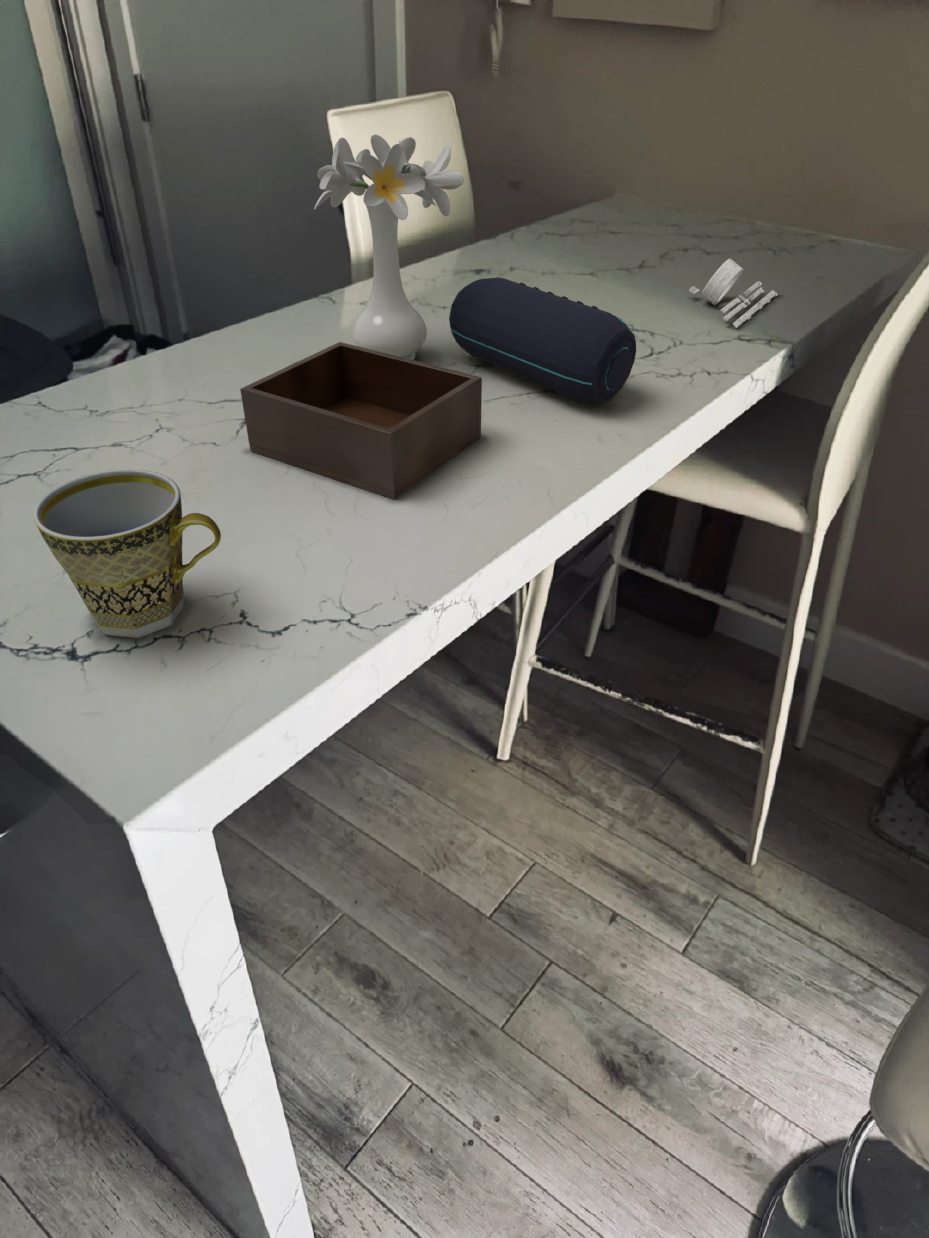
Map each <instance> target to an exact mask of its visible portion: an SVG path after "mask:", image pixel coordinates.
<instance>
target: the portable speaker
mask: <svg viewBox="0 0 929 1238" xmlns="http://www.w3.org/2000/svg"><path fill="white" fill-rule="evenodd" d="M448 321H449V329H450V332H451V335H452V337H453V338H454V340H455V342H456V344H457V345H458V346H459V347H460V348H461V349H462V351H464V352H466V353H467V354H469V355H470V356H472V357H473V358H475V359H477V360H480V361H481V362H484V363H486V364H489V365H491V366H494V367H495V368H499V369H500V370H503V371H506V372H508V373H510V374H511V375H512V374H513V375H515V376H518V377H520V378H522V379H524V380H526V381H530V382H531V383H534V384H536V385H539V386H541V387H543V388H545V389H547V390H548V389H549V390H550V391H553V392H555V393H557V394H560V395H563V396H565V397H567V398H569V399H572V400H573V401H576V402H581V403H586V404H591V405H599V404H606V403H608V402H610V401H611V400H612V399H613V398H614V397H615V396H617V394H618V393H619V392H620V391H622V389H623V388H624V385H626V382H627V381H628V378H629V377H630V376H631V372H632V369H633V366H634V364H635V361H636V355H637V340H636V336H635V334H634V333H633V331H632V330H631V329H630V327H629V326H628V325H627V324H626V322H625V321H624V320H623V319H622V318H621V317H618V316H616V315H615V314H613V313H611V312H609V311H606V310H603V309H600V308H598V307H597V306H596V305H592V306H591V305H587V304H585V303H584V302H582V301H580V300H577V301H576V300H575V301H574V300H572V299H569V298H568V297H567V296H565V295H562V296H560V295H557V294H555V293H554V292H551V291H544V290H541V288H539V287H537V286H534V287H532V286H529V285H527V284H526V283H524V282H520V283H519V282H516V281H513V280H511V279H507V278H504V277H501V276H500V277H498V276H497V277H487V278H480V279H477V280H476V279H475V280H474V281H472V282H470V283H468V284H467V285H465V286H463V288H462V289H460V290H459V291H458V292H457V294H456V296H455V298H454V299H453V301H452V303H451V306H450V311H449V316H448Z"/></svg>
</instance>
